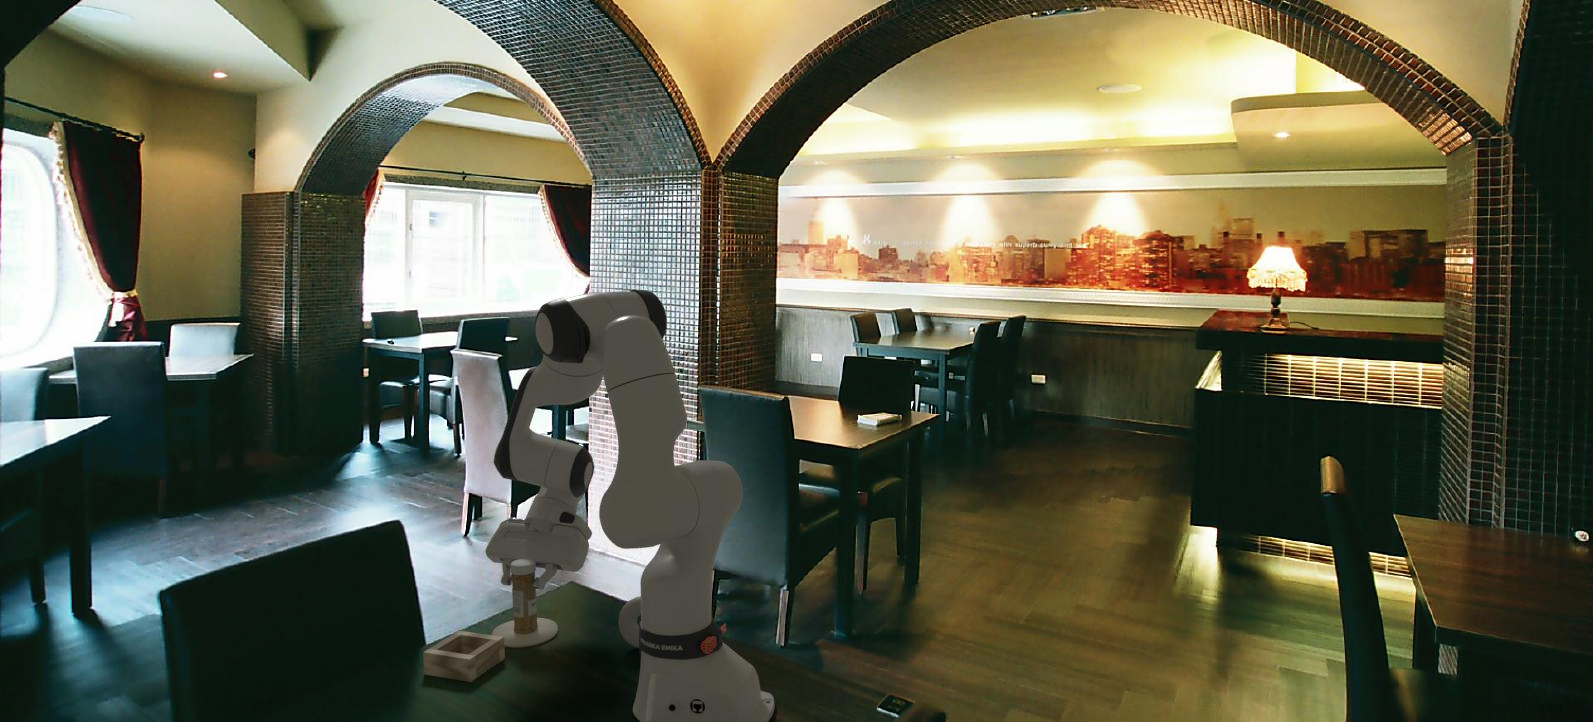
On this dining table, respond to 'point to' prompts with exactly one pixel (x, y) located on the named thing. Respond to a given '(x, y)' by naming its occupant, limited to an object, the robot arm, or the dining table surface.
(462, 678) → the holder collar
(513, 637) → the white domed disc
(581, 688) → the dining table surface
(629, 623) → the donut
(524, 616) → the sprinkles bottle
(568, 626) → the dining table surface
